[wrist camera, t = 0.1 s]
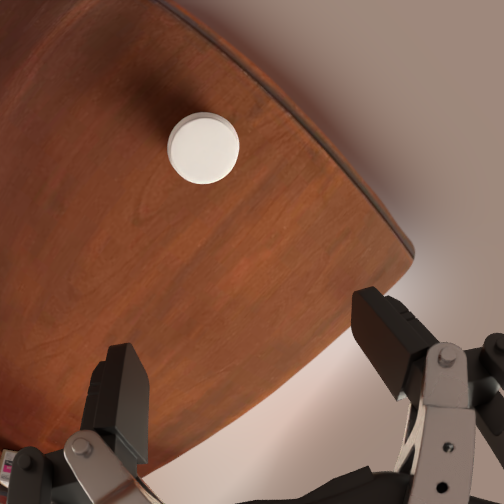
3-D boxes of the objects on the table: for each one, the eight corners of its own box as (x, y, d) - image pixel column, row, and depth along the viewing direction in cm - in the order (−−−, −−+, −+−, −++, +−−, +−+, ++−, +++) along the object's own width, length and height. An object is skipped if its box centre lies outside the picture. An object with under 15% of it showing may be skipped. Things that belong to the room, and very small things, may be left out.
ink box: (35, 452, 39) (28, 486, 31) (45, 462, 41) (40, 495, 33) (2, 448, 38) (-6, 479, 30) (12, 457, 39) (5, 487, 32)
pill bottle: (239, 148, 26) (260, 163, 18) (192, 178, 26) (194, 205, 19) (209, 102, 24) (218, 95, 16) (161, 133, 24) (148, 141, 16)
